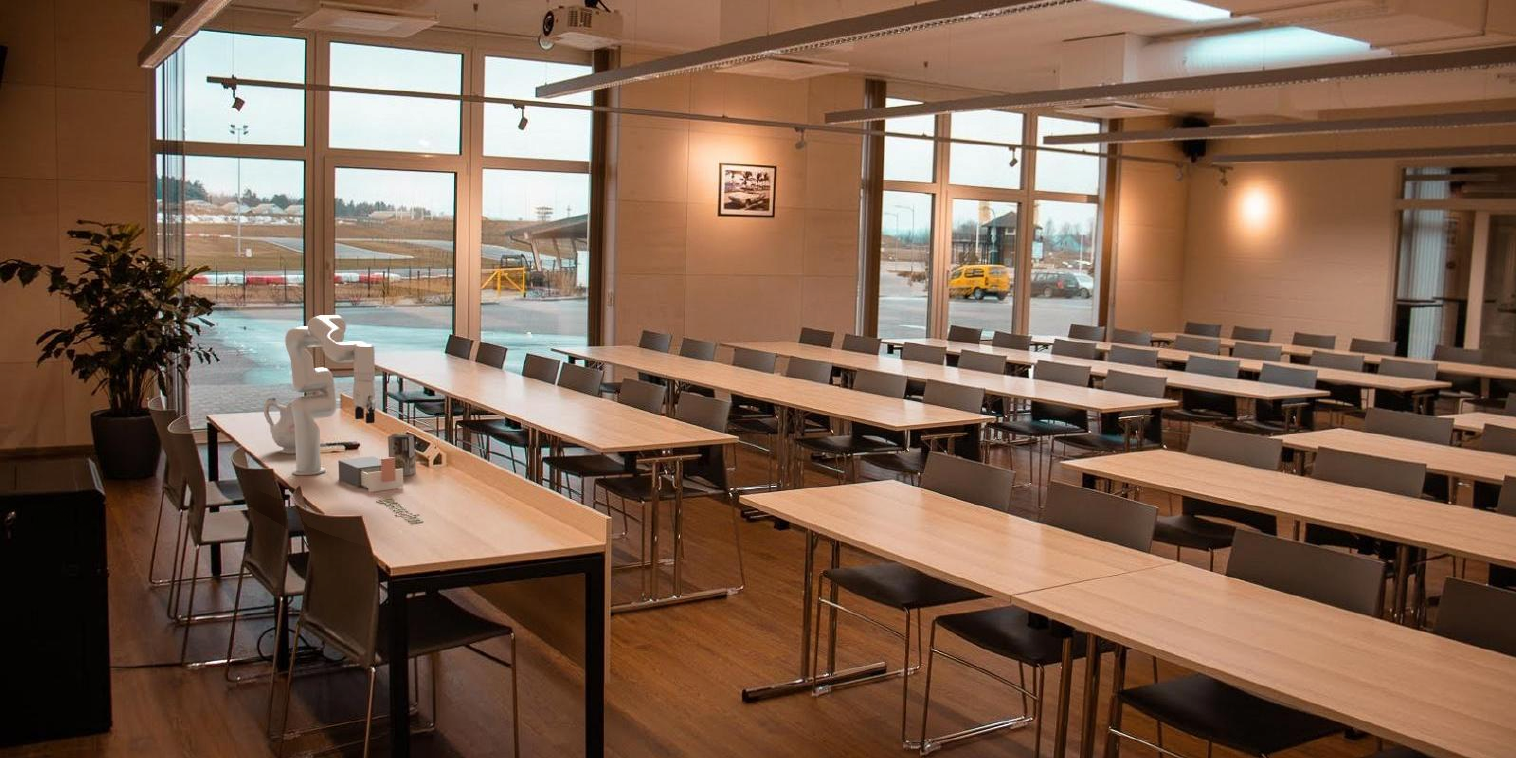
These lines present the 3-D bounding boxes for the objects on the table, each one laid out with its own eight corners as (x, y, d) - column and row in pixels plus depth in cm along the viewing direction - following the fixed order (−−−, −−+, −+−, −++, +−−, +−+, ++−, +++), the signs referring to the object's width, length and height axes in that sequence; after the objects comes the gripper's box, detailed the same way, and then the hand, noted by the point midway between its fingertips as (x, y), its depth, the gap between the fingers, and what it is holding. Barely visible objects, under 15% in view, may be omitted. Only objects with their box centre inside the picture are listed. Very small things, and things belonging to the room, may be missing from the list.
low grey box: (339, 480, 478) (338, 460, 477) (373, 475, 487) (372, 456, 486) (358, 488, 464) (357, 468, 463) (392, 483, 473) (392, 463, 472)
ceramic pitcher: (273, 459, 522) (273, 403, 517) (259, 449, 536) (259, 395, 532) (323, 454, 535) (323, 400, 531) (308, 444, 550) (308, 391, 545)
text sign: (396, 499, 447) (374, 502, 443) (396, 497, 447) (374, 499, 443) (428, 522, 414) (405, 525, 410) (428, 520, 414) (405, 523, 409)
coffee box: (416, 472, 494) (415, 433, 492) (410, 475, 488) (409, 436, 486) (394, 471, 495) (393, 433, 493) (388, 475, 489) (387, 436, 487)
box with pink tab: (350, 483, 470) (349, 451, 468) (383, 479, 479) (382, 448, 477) (372, 493, 454) (371, 460, 453) (406, 488, 463) (405, 456, 461)
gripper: (345, 374, 461) (346, 418, 464) (364, 380, 449) (364, 425, 451) (364, 373, 466) (364, 416, 469) (383, 379, 454) (383, 423, 456)
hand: (364, 420), depth 460 cm, fingers open, 9 cm apart
